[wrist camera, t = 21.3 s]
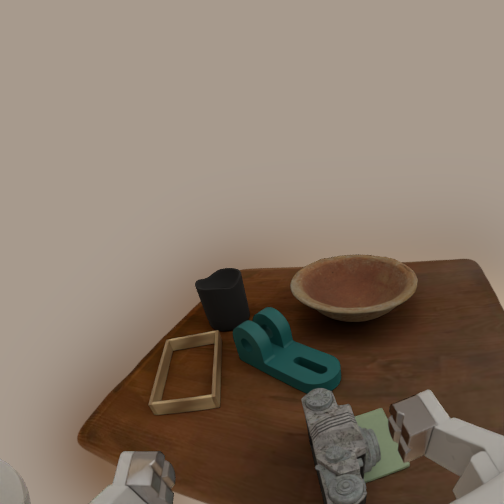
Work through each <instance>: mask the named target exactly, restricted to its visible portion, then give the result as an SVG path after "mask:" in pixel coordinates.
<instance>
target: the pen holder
mask: <svg viewBox="0 0 504 504" xmlns="http://www.w3.org/2000/svg"><path fill="white" fill-rule="evenodd" d="M195 286H196V289H197V292H198V294H199V297H200V300H201V302H202V305H203V308H204V310H205V313H206V316H207V318H208V320H209V323H210V325H211V327H212V328H214V329H216V330H219V331H229V330H233V329H234V328H236V327H237V326H239V325H240V324H242V323H243V322H245V321H247V320H248V319H249V316H250V313H249V308H248V303H247V298H246V294H245V289H244V285H243V280H242V276H241V272H240V271H239V270H238V269H234V268H225V269H220V270H218V271H216V272H215V273H213V274H212V275H211V276H209V277H208V278H205V279H201V280H198V281H196V283H195Z"/></svg>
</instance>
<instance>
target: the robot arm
mask: <svg viewBox="0 0 504 504" xmlns="http://www.w3.org/2000/svg"><path fill="white" fill-rule="evenodd" d="M389 412H390V414H391V416H390V417H389V419H388V427H389V432H390V435H391V437H392V440H393V441H394V442H396V443H398V452H399V454H400V456H401V459H402V461H403V463H406V462H409V461H411V460H414V459H416V458H419V457H421V456H424V455H425V456H426V457H428V458H429V459H431V460H433V461H434V462H436V463H438V464H439V465H441V466H443V467H445V468H446V469H448V470H450V471H452V472H453V473H455V474H457V475H459V476H460V478H459V480H458V482H457V483H456V485H455V487H454V489H453V492H454V494H455V496H456V498H457V500H455V501H453V502H451V503H449V504H504V436H502V435H500V434H497V433H494V432H491V431H489V430H486V429H483V428H480V427H478V426H475V425H472V424H470V423H467V422H465V421H462V420H459V419H457V418H451V419H450V417H449V416H448V414H447V413H446V411H445V410H444V409H443V407H442V406H441V404H440V403H439V401H438V400H437V399H436V397H435V396H434V394H433V393H432V391H430V390H426V391H424V392H421V393H419V394H417V395H413V396H411V397H408V398H406V399H403V400H401V401H398V402H396V403H393V404H391V405H390V408H389ZM164 459H165V456H164V454H163V453H162V452H161V451H145V452H136V451H123V452H122V453H121V455H120V458H119V462H118V465H117V469H116V473H115V477H114V480H113V484H112V485H108V486H107V487H106V488H105V489H104V490H103V491H102V492H101V493H100V494H99V495H97V496H96V497H95V498H94V499H93V500H92V501H91V502H90V503H89V504H173V497H174V493H173V492H172V490H171V488H172V487H173V486H174V485H175V471H174V468H173V466H172V465H171V463H170V462H168V461H166V460H164Z"/></svg>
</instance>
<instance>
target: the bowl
mask: <svg viewBox="0 0 504 504" xmlns="http://www.w3.org/2000/svg"><path fill="white" fill-rule="evenodd" d="M290 288H291V291H292V293H293V295H294V296H295V297H296V298H297V299H298V300H299V301H300V302H302V303H303V304H305V305H307V306H309V307H311V308H313V309H316V310H317V311H319V312H320V313H321V314H323V315H325V316H327V317H330V318H332V319H335V320H340V321H345V322H361V321H367V320H372V319H375V318H378V317H380V316H382V315H385V314H387V313H388V312H390V311H391V310H393V309H394V308H395V307H396V306H398V305H400V304H402V303H403V302H405V301H406V300H408V299H409V298H410V297H411V296H412V295H413V294H414V293H415V291H416V288H417V277H416V275H415V273H414V271H413V270H412V269H410V268H409V267H408V266H406V265H405V264H403V263H401V262H398V261H397V260H395V259H392V258H387V257H380V256H372V255H344V256H337V257H331V258H324V259H320V260H318V261H316V262H314V263H311V264H309V265H307V266H305V267H304V268H302V269H301V270H299V271H298V272H297V273H296V274H295V275H294V277H293V279H292V281H291V284H290Z"/></svg>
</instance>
